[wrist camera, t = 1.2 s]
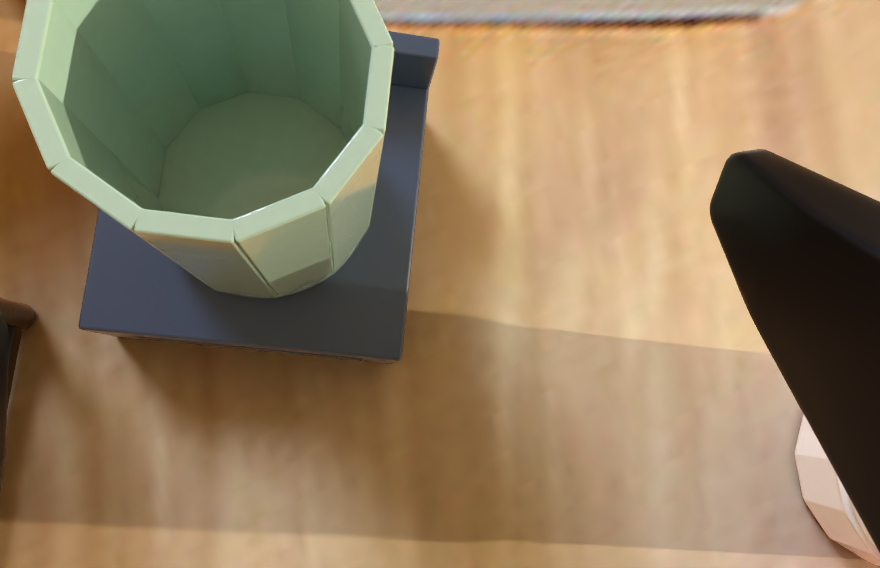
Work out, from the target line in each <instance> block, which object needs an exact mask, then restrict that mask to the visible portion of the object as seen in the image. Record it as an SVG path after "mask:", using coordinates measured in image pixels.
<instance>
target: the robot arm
mask: <svg viewBox="0 0 880 568" xmlns="http://www.w3.org/2000/svg"><path fill="white" fill-rule="evenodd" d="M710 216H711V220H712V223H713V226H714V228H715V231H716V233H717V236H718V238H719V241H720V243H721V245H722V248H723V250H724V253H725V255H726V258H727V260H728V263H729V265H730V268H731V270H732V273H733V275H734V277H735V280H736V282H737V285H738V287H739V290H740V292H741V295H742V297H743V300H744V302H745V304H746V306H747V309H748V311H749V313H750V315H751V317H752V319H753V321H754V323H755V325H756V327H757V329H758V331H759V333H760V335H761V337H762V338H763V340H764V342H765V344H766V346H767V348H768V349H769V351H770V353H771V355H772V357H773V359H774V360H775V362H776V364H777V366H778V368H779V370H780V371H781V373H782V375H783V377H784V379H785V381H786V382H787V384H788V386H789V388H790V390H791V392H792V393H793V395H794V397H795V399H796V401H797V403H798V404H799V406H800V408H801V410H802V412H803V414H804V415H805V417H806V419H807V421H808V423H809V425H810V426H811V428H812V430H813V432H814V434H815V436H816V437H817V439H818V441H819V443H820V445H821V447H822V448H823V450H824V452H825V454H826V456H827V458H828V459H829V461H830V463H831V465H832V467H833V469H834V470H835V472H836V474H837V476H838V478H839V480H840V481H841V483H842V485H843V487H844V489H845V491H846V492H847V494H848V496H849V498H850V500H851V502H852V503H853V505H854V507H855V509H856V511H857V513H858V514H859V516H860V518H861V520H862V522H863V524H864V525H865V527H866V529H867V531H868V533H869V535H870V536H871V538H872V540H873V542H874V544H875V546H876V547H877V549H878V551H879V553H880V202H879V201H877V200H874V199H872V198H870V197H868V196H866V195H863V194H861V193H859V192H857V191H855V190H853V189H850V188H848V187H846V186H844V185H842V184H839V183H837V182H835V181H833V180H831V179H829V178H826V177H824V176H822V175H820V174H818V173H815V172H813V171H811V170H809V169H807V168H805V167H802V166H800V165H798V164H796V163H794V162H792V161H789V160H787V159H785V158H783V157H781V156H778V155H776V154H774V153H772V152H770V151H767V150H763V149H757V150H750V151H743V152H737V153H734V154H732V155H731V156H730V157H729V158H728V159H727V161H726V163H725V165H724V168H723V170H722V173H721V176H720V178H719V181H718V184H717V186H716V189H715V192H714V194H713V197H712V200H711V203H710ZM8 347H9V333H8V327H7V324H6V321H5V319H4V317H3V315H2V313H1V312H0V489H1V483H2V477H3V469H4V461H5V450H6V429H7V388H8Z"/></svg>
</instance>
